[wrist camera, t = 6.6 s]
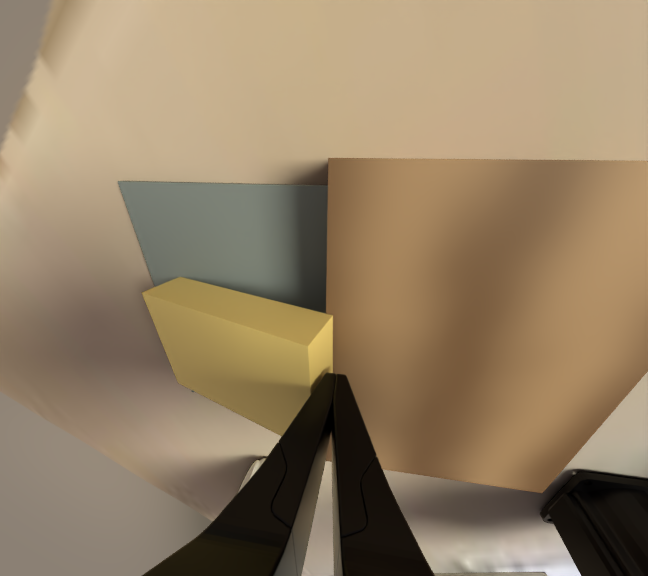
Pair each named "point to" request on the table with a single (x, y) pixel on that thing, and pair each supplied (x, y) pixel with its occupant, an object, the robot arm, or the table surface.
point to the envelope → (494, 574)
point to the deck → (487, 308)
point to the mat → (235, 236)
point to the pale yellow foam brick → (242, 348)
